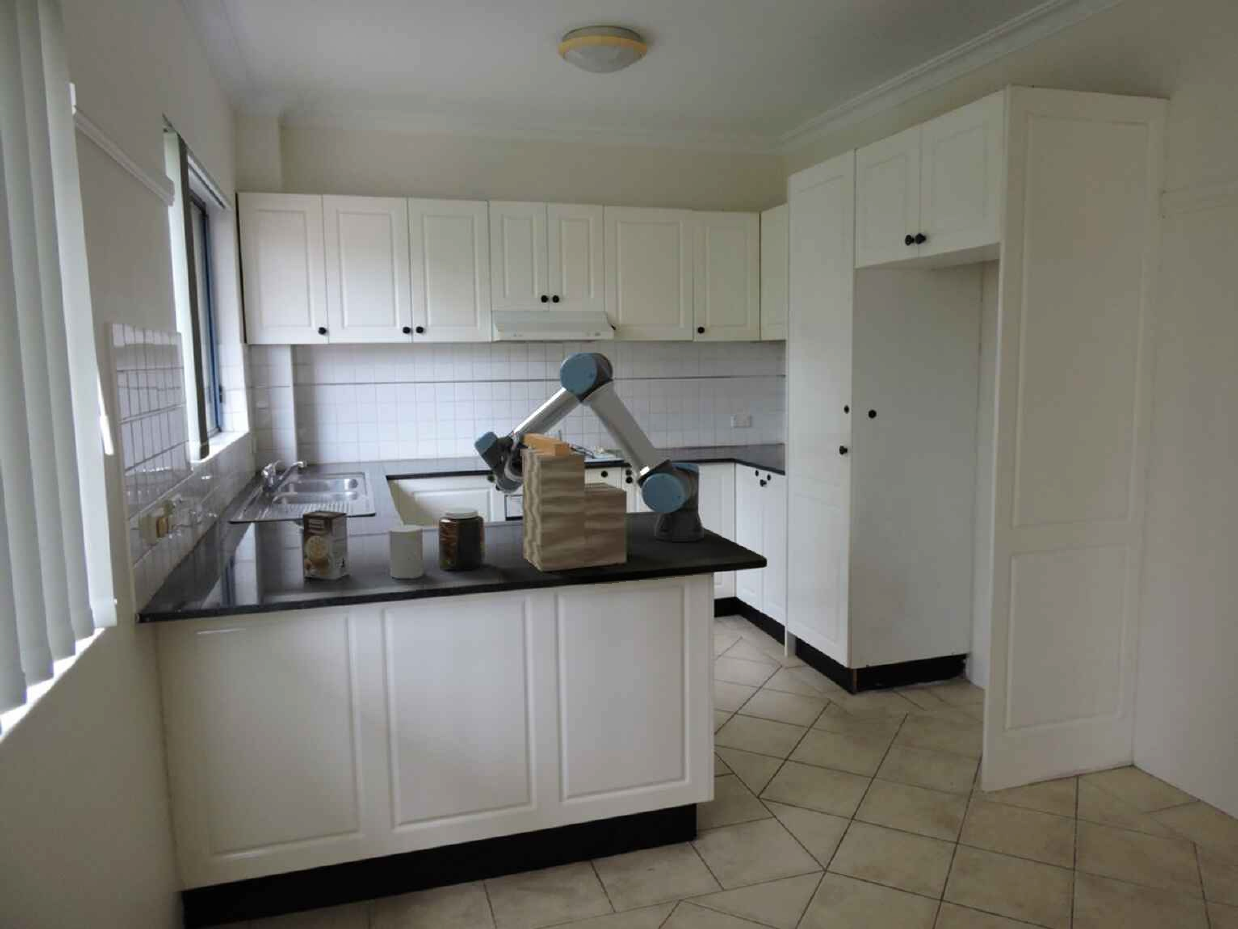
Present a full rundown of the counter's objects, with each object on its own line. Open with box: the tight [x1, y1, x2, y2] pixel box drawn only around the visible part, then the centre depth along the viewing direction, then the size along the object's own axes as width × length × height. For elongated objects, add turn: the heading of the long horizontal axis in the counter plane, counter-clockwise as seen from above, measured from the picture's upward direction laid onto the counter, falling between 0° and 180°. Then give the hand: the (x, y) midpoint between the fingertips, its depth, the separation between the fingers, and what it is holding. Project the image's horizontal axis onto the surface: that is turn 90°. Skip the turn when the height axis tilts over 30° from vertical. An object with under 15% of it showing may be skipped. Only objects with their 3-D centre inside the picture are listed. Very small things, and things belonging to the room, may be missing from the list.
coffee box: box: [302, 509, 349, 581], centre depth 213 cm, size 9×6×16 cm
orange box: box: [525, 434, 571, 456], centre depth 229 cm, size 26×4×3 cm, turn 24°
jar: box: [437, 507, 486, 572], centre depth 223 cm, size 12×12×15 cm
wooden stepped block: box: [521, 448, 628, 572], centre depth 229 cm, size 17×24×30 cm
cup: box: [388, 524, 424, 579], centre depth 214 cm, size 8×8×12 cm
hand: (539, 435), depth 234 cm, fingers open, 12 cm apart
